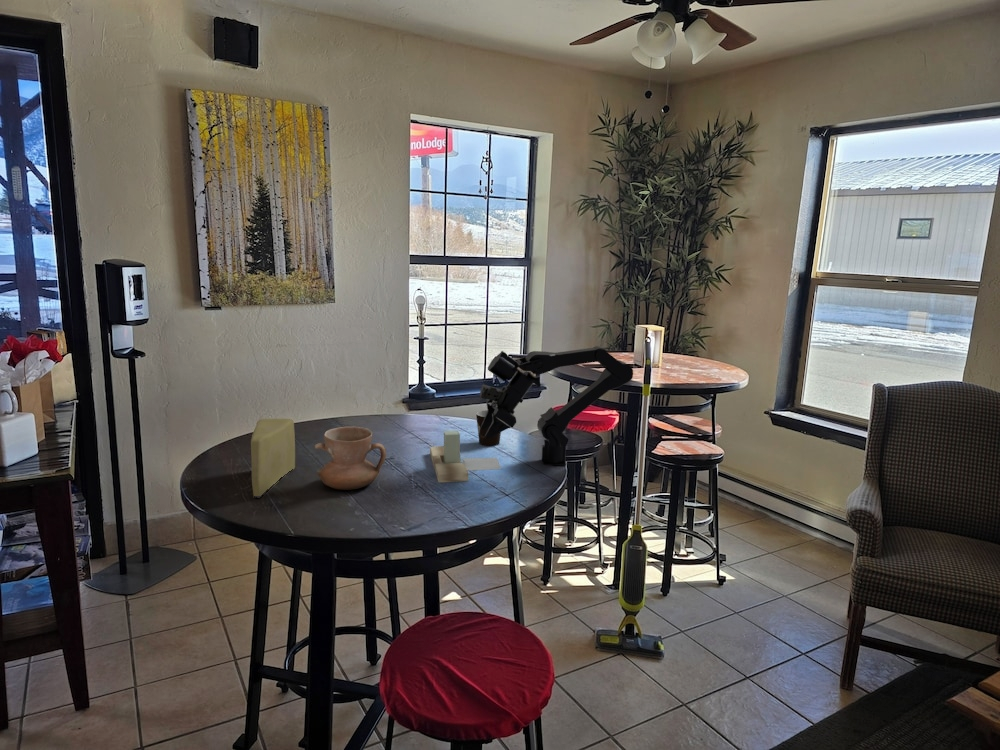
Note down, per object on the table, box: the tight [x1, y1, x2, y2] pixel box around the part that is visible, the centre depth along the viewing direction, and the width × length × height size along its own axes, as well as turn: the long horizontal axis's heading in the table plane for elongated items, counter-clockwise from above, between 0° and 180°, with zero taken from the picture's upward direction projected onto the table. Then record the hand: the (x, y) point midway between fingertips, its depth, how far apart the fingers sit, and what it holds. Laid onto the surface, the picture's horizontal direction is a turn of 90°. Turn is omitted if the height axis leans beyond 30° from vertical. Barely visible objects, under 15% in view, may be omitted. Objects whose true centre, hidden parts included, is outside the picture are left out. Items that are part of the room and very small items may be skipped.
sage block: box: [443, 430, 461, 463], centre depth 182 cm, size 4×4×10 cm
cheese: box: [250, 418, 296, 497], centre depth 167 cm, size 22×10×15 cm, turn 5°
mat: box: [462, 457, 503, 472], centre depth 186 cm, size 10×10×1 cm
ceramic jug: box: [314, 425, 387, 491], centre depth 167 cm, size 18×14×14 cm
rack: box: [429, 445, 469, 483], centre depth 183 cm, size 8×24×2 cm, turn 11°
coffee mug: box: [475, 409, 502, 447], centre depth 206 cm, size 12×9×10 cm
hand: (483, 433), depth 184 cm, fingers open, 9 cm apart
